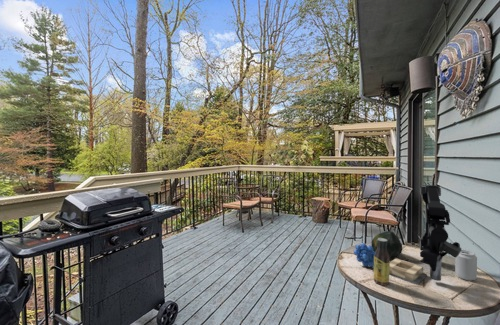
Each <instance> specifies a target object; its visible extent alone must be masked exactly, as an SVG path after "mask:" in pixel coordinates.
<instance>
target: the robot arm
mask: <svg viewBox="0 0 500 325" xmlns="http://www.w3.org/2000/svg"><path fill="white" fill-rule="evenodd" d="M419 194H420V196H421V199H422V201H423V202H424V208H425V209H424V210H425V211H424V214H425V215H424V219H425V221H424V222H425V223H424V225H425V226H424V227H425V229H424V232H422V234H421V238H420V239H419V240H420V241H419V250H420V252H419V256H420V257H421V259H420V262H421V263H424V264H428V266H429V268H430V267H431V269H432V271H436V267H437V262H438V261H439V260H440V259H441V261H443V258H444V257H445V256H447V255H450V256H451V257H453V258H454V259H455V258H456V257H457V256H458V255H459V253H460V252H461V250H463V249H462V247H461V244H460V243H459V242H457V241H455V242H453V243H452V242H449V241H447V240H448V239H449V233H448V232H447V230H446V227H445V226H450V223H451V218H450V212H449V210H448V209H446V206H445V204H443V203H441V200H440V197H441V196H442V188H441V187H439V186H438V185H437V184H436V185H435V184H427V185H423V186H421V187H420V190H419ZM440 256H441V257H442V258H440Z"/></svg>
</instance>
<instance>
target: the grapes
mask: <svg viewBox="0 0 500 325" xmlns="http://www.w3.org/2000/svg"><path fill="white" fill-rule="evenodd" d="M353 254H354V256H355V257H356V261H357V262H359V263H362V265H363V266H364V267H368V266H369V267H371V268H374V255H375V251H373V247H372V246H371V244H370V245H369V244H368V245H367V244H366V243H364V242H361V243H360V244H355V249H354V250H353Z"/></svg>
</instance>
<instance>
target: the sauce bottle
mask: <svg viewBox="0 0 500 325" xmlns="http://www.w3.org/2000/svg"><path fill="white" fill-rule="evenodd" d="M377 242H378V246H377V250H376V252H375V255H374V267H373V275H372V277H373V281H374V283H375V284H378V285H380V286H387V285H389V284H390V283H389V281H390V275H389V268H390V262H391V261H390V258H391V257H390V256H389V253H388V252H387V243H388V241H387V239H384V238H378V239H377Z"/></svg>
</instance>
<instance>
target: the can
mask: <svg viewBox="0 0 500 325" xmlns="http://www.w3.org/2000/svg"><path fill="white" fill-rule="evenodd" d="M454 260H455V262H454V263H455V265H454V267H455V268H454V274H455V275H456V276H457V277H458V278H459V279H461V280H464V281H470V282H472V280H474V281H475V280H477V278H478V276H477V274H478V257H477V256H476V253H475V252H473V251H470V250H466V249H462V250H461V252H460V253H459V255H458V256H457V257H456V258H455V257H454Z"/></svg>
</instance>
